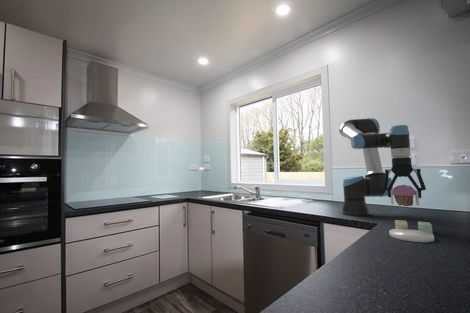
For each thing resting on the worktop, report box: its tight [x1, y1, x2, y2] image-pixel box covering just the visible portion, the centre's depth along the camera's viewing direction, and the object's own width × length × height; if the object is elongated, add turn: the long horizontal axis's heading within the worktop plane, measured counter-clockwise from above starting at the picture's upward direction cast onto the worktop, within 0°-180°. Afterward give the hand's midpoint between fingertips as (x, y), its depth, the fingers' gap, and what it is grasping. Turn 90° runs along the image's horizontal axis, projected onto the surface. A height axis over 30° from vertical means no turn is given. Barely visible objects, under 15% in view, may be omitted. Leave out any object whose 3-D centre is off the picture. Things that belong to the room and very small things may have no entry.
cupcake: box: [392, 184, 416, 207], centre depth 107 cm, size 9×9×10 cm
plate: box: [388, 228, 435, 243], centre depth 89 cm, size 14×14×2 cm
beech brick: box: [394, 219, 409, 229], centre depth 98 cm, size 6×4×4 cm, turn 149°
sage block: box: [417, 221, 434, 235], centre depth 94 cm, size 6×4×4 cm, turn 145°
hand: (404, 204), depth 106 cm, fingers closed on cupcake, 9 cm apart
